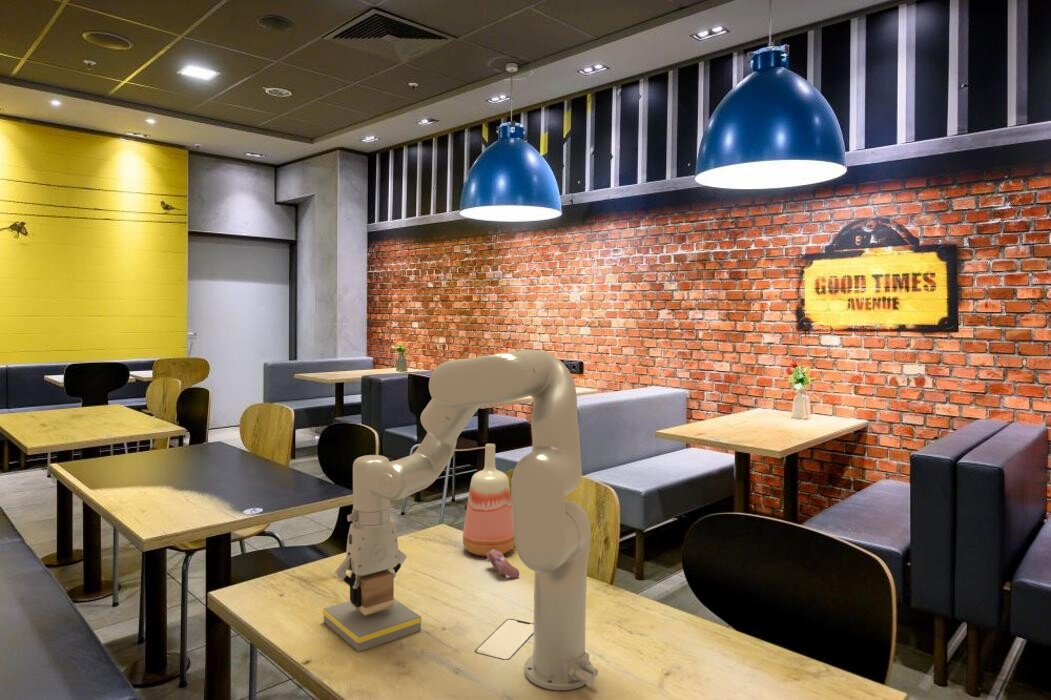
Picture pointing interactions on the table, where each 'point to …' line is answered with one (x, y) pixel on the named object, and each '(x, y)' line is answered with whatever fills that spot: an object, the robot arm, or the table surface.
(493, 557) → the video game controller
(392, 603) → the brown wooden block
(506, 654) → the smartphone
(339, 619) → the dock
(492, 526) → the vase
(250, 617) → the table surface
